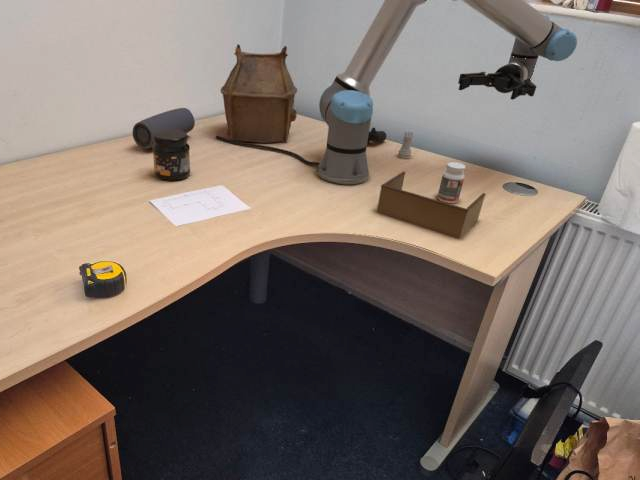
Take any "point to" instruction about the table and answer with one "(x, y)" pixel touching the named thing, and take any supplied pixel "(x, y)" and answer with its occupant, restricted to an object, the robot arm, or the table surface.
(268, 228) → the table surface
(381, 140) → the gaming controller
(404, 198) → the brown u-shaped partition wall
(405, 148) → the rook chess piece
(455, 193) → the pill bottle
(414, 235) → the table surface
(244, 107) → the hut
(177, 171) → the supplement container
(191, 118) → the bluetooth speaker
